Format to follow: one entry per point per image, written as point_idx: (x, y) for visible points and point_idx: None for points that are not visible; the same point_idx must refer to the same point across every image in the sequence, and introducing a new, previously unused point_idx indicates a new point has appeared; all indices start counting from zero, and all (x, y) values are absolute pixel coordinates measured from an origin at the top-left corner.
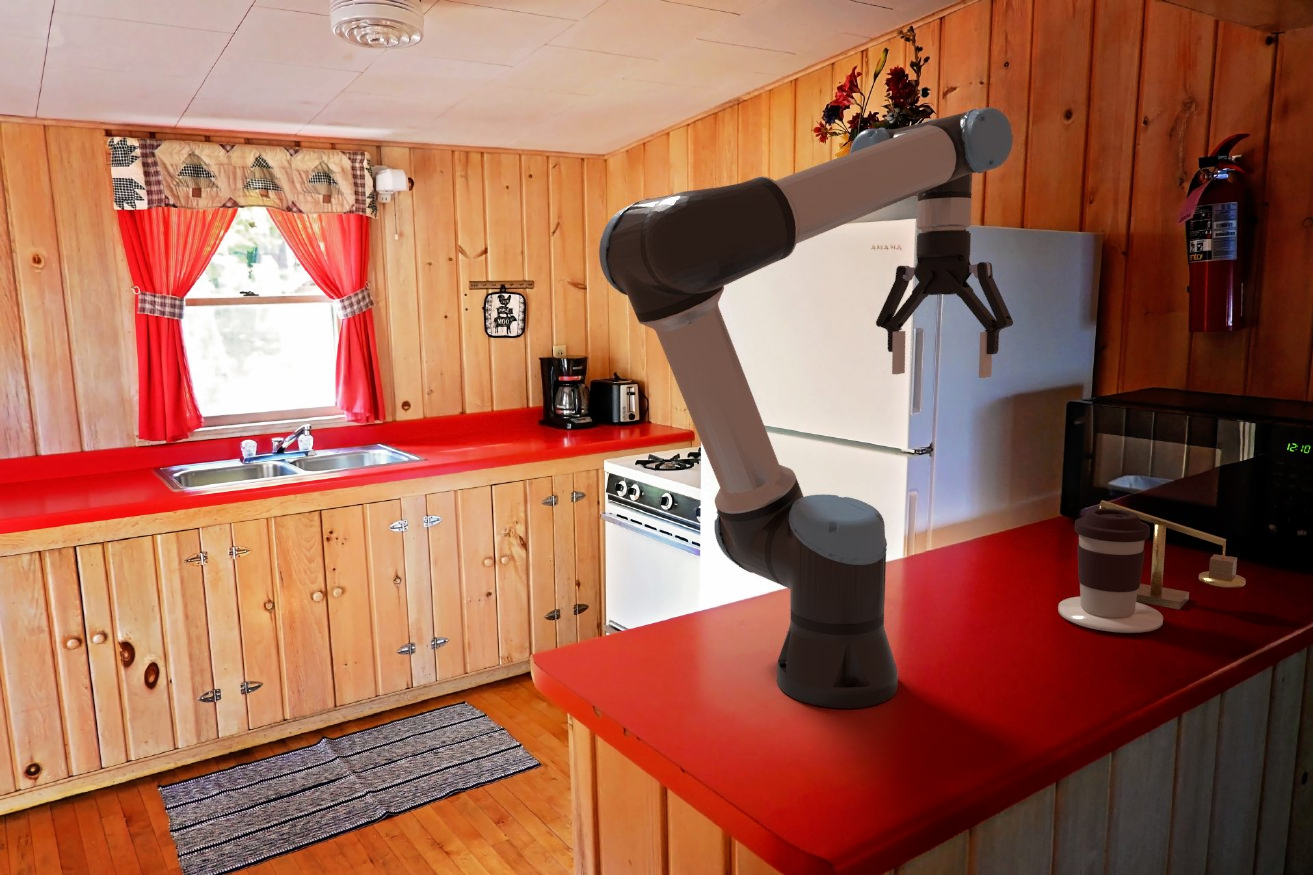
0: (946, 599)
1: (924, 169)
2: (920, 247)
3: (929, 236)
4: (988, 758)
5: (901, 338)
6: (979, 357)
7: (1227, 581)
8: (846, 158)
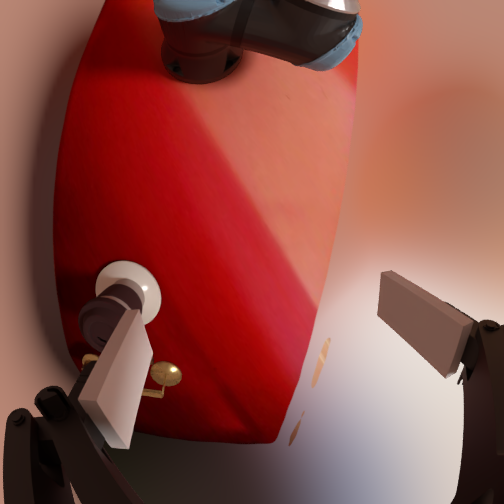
0: (237, 249)
1: None
2: None
3: None
4: (94, 50)
5: (439, 343)
6: (123, 341)
7: (87, 359)
8: None
